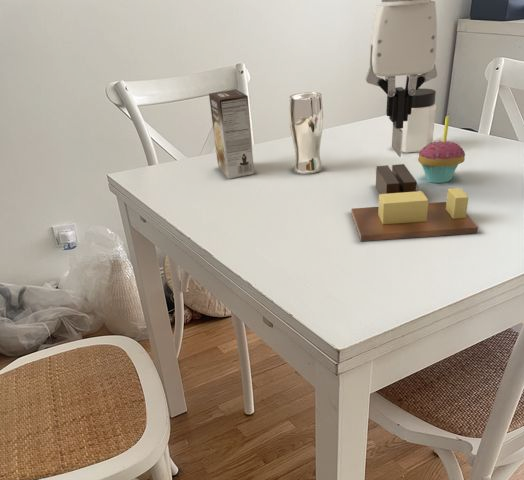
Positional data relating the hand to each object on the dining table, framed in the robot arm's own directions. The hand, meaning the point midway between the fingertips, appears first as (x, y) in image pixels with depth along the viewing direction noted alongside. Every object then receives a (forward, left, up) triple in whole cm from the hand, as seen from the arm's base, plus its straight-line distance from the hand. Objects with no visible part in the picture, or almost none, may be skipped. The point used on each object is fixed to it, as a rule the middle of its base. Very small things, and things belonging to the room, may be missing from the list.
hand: (398, 119), depth 93 cm
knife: (0, 0, -5) cm, 5 cm away
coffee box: (+31, -23, -14) cm, 41 cm away
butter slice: (-7, +14, -12) cm, 20 cm away
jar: (-10, -31, -14) cm, 35 cm away
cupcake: (-10, -7, -14) cm, 18 cm away
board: (0, +14, -13) cm, 19 cm away
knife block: (0, 0, -13) cm, 13 cm away
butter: (+1, +14, -12) cm, 19 cm away
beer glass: (+15, -20, -14) cm, 28 cm away
